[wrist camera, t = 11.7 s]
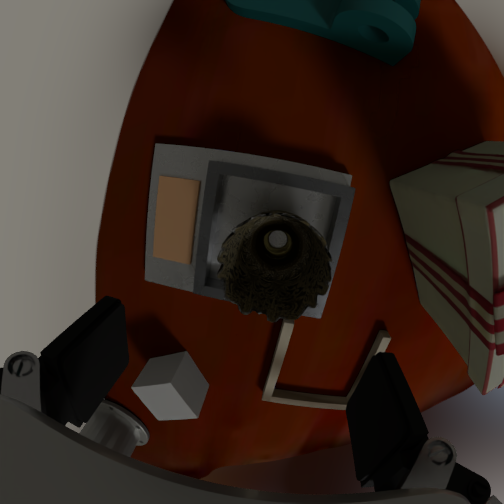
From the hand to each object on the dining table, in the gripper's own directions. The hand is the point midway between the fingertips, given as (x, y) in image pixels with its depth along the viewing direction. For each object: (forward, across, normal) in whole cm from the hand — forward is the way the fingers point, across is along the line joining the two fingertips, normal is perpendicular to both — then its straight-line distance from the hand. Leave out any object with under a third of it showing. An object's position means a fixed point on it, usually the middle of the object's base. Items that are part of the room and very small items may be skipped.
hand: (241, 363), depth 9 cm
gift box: (+18, -21, -5) cm, 28 cm away
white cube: (+18, +8, +20) cm, 28 cm away
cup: (+17, -1, 0) cm, 17 cm away
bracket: (+18, 0, -24) cm, 30 cm away
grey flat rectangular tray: (+18, +3, 0) cm, 18 cm away
